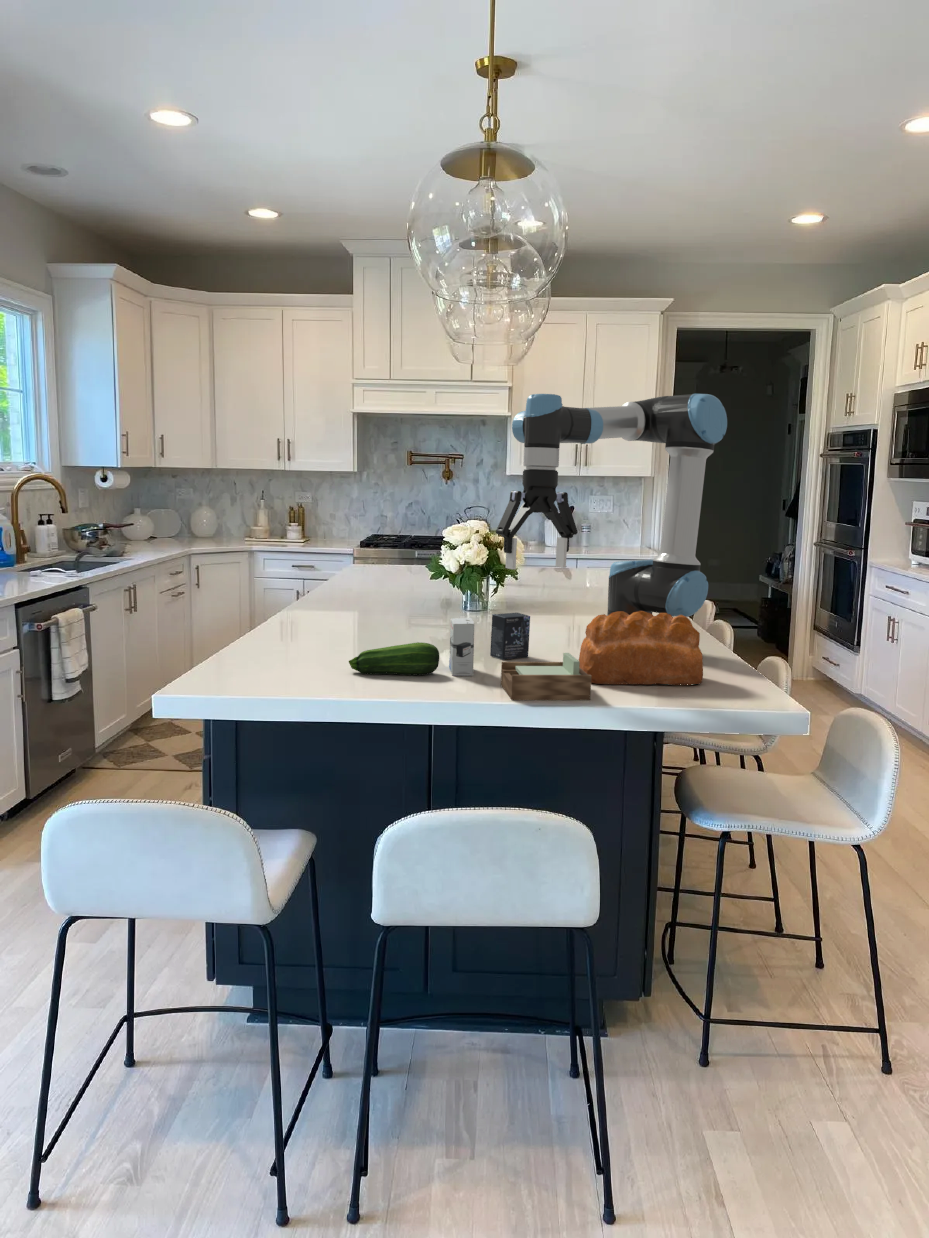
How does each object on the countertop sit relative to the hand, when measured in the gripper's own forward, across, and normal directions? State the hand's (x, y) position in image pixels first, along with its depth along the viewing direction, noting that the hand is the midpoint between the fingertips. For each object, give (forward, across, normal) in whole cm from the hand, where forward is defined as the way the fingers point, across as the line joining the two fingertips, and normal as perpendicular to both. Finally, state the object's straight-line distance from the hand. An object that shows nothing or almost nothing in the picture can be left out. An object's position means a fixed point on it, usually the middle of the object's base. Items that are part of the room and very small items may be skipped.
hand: (536, 568), depth 195 cm
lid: (+21, +5, +13) cm, 25 cm away
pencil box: (+24, +6, +12) cm, 28 cm away
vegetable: (+25, +26, -16) cm, 39 cm away
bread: (+24, -21, +12) cm, 34 cm away
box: (+24, -9, -20) cm, 33 cm away
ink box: (+24, +11, -11) cm, 29 cm away
